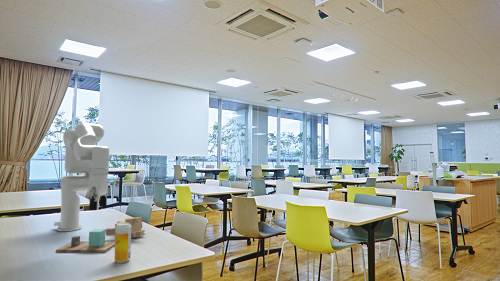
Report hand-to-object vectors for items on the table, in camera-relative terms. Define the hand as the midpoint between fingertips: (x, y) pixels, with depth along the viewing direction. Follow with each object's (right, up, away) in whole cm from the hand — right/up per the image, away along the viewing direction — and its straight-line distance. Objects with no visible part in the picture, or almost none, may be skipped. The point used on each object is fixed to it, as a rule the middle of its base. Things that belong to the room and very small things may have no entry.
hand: (98, 208), depth 148 cm
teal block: (0, -17, -1) cm, 17 cm away
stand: (-4, -18, -1) cm, 19 cm away
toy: (+4, -20, +20) cm, 29 cm away
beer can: (+19, -18, -19) cm, 32 cm away
